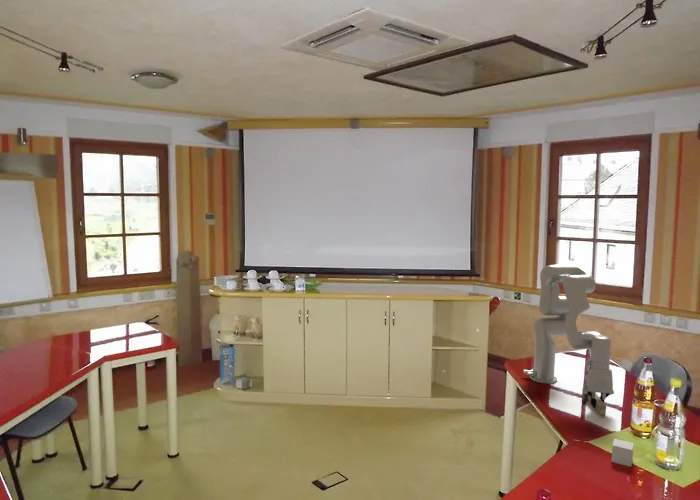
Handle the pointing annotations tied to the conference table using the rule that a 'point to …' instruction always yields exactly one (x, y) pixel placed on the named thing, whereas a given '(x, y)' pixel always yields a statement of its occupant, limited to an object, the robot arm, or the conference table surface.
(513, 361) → the conference table surface
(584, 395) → the tong hinge
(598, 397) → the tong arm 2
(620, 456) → the grey cube
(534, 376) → the robot arm
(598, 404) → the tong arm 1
